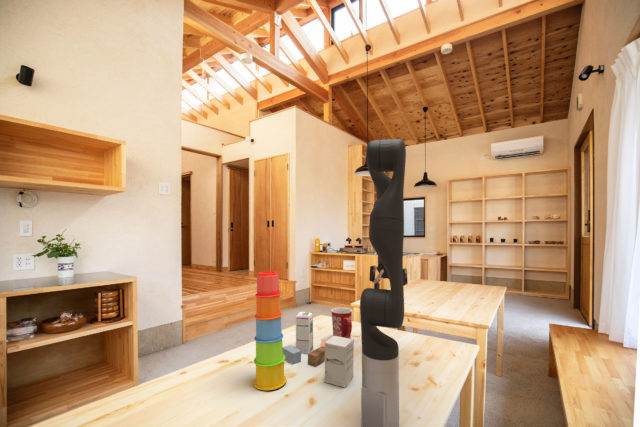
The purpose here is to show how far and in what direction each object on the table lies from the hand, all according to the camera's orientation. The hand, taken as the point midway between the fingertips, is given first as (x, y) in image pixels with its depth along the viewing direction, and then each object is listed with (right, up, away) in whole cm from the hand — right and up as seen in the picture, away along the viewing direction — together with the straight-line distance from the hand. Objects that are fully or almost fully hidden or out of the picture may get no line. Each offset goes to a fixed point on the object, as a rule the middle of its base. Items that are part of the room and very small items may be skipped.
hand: (388, 294), depth 110 cm
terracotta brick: (-23, -24, +4) cm, 34 cm away
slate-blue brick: (-36, -24, -1) cm, 43 cm away
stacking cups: (-41, -23, -17) cm, 50 cm away
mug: (-16, -25, +14) cm, 32 cm away
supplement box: (-19, -23, -16) cm, 34 cm away
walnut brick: (-26, -24, -3) cm, 36 cm away
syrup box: (-32, -24, +7) cm, 40 cm away
